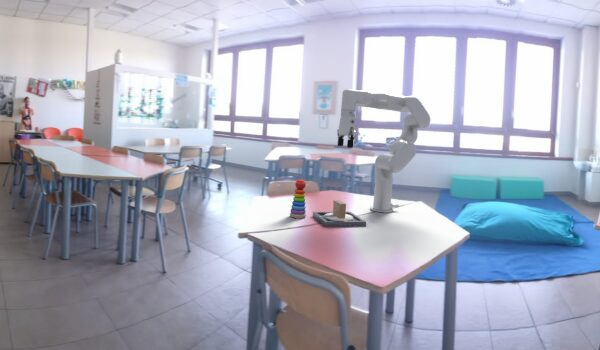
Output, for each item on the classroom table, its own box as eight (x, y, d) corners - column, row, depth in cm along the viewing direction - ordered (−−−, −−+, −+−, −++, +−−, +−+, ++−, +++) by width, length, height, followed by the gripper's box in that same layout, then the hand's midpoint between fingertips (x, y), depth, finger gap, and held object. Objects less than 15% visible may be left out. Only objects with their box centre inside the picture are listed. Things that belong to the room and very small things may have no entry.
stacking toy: (294, 219, 189) (296, 180, 187) (287, 215, 196) (289, 178, 194) (308, 218, 193) (310, 180, 190) (301, 214, 200) (303, 177, 197)
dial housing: (349, 215, 203) (350, 211, 203) (366, 226, 184) (366, 221, 184) (312, 216, 198) (312, 211, 197) (325, 226, 179) (325, 221, 178)
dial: (346, 214, 199) (347, 199, 198) (357, 221, 186) (359, 205, 185) (320, 214, 195) (321, 198, 194) (329, 222, 182) (330, 205, 181)
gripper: (363, 114, 198) (360, 148, 201) (345, 114, 214) (342, 145, 216) (350, 113, 195) (347, 147, 197) (333, 113, 211) (330, 145, 213)
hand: (345, 146), depth 207 cm, fingers open, 9 cm apart
